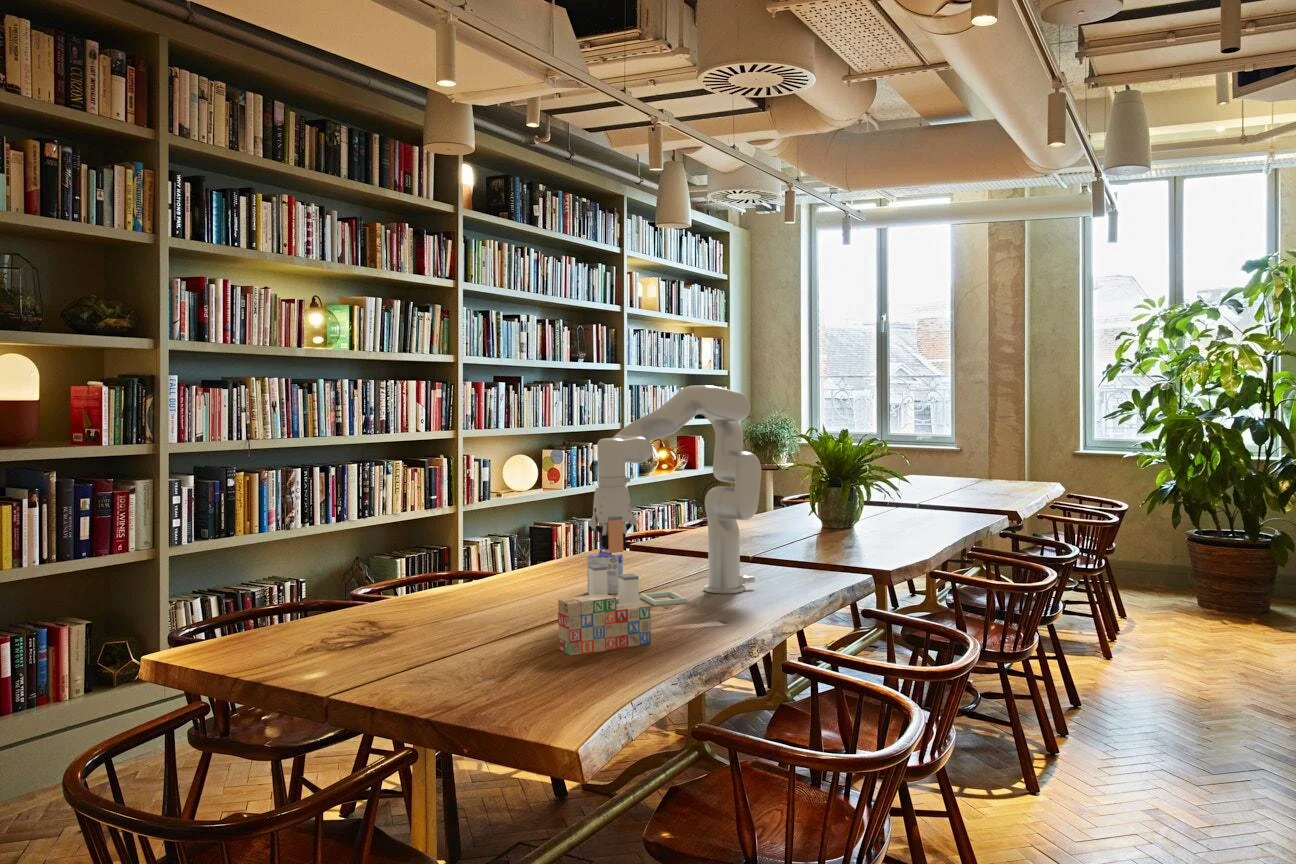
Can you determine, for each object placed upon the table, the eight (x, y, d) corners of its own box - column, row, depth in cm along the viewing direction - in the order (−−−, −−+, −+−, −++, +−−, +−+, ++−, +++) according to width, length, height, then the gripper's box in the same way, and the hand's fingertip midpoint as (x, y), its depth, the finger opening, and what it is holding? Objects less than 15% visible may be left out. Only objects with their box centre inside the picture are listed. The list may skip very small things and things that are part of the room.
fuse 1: (602, 598, 293) (601, 564, 292) (607, 601, 288) (607, 566, 288) (588, 599, 291) (588, 565, 291) (594, 602, 286) (593, 567, 286)
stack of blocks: (639, 639, 247) (638, 589, 246) (651, 644, 241) (650, 593, 241) (558, 650, 237) (557, 598, 236) (569, 656, 231) (568, 602, 231)
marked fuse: (617, 549, 284) (616, 514, 284) (623, 551, 280) (622, 516, 279) (604, 550, 283) (603, 515, 283) (609, 553, 278) (608, 517, 278)
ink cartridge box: (623, 594, 303) (623, 546, 302) (619, 598, 297) (619, 549, 297) (591, 593, 305) (591, 545, 304) (587, 597, 299) (586, 548, 299)
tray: (671, 599, 294) (671, 591, 294) (686, 607, 283) (686, 598, 283) (640, 602, 291) (640, 593, 291) (654, 610, 280) (654, 601, 280)
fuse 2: (632, 609, 277) (632, 573, 276) (638, 612, 272) (638, 576, 272) (618, 610, 275) (618, 574, 275) (624, 613, 271) (624, 577, 270)
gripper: (635, 480, 287) (637, 544, 288) (579, 483, 281) (580, 548, 282) (644, 482, 280) (646, 547, 281) (586, 485, 274) (588, 552, 275)
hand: (613, 547), depth 281 cm, fingers closed on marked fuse, 4 cm apart
